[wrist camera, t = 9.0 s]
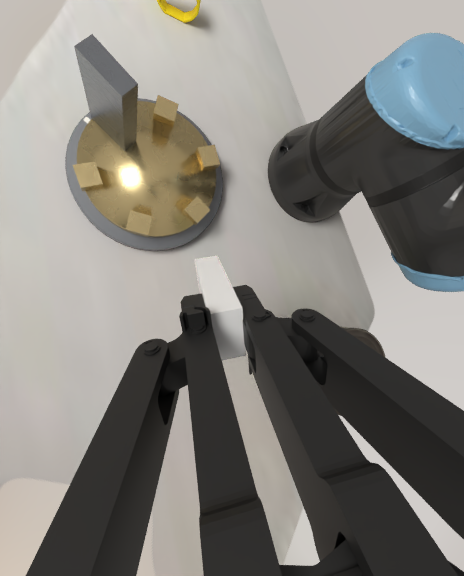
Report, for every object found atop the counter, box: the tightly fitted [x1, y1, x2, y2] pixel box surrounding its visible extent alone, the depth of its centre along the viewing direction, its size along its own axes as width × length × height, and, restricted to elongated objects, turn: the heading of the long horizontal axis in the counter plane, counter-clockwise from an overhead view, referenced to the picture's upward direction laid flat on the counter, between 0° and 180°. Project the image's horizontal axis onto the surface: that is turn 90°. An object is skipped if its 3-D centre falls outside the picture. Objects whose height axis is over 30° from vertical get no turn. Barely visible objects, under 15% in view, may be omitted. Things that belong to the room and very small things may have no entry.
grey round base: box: [66, 98, 223, 251], centre depth 37 cm, size 20×20×2 cm
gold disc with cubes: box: [73, 34, 220, 238], centre depth 31 cm, size 17×17×12 cm
